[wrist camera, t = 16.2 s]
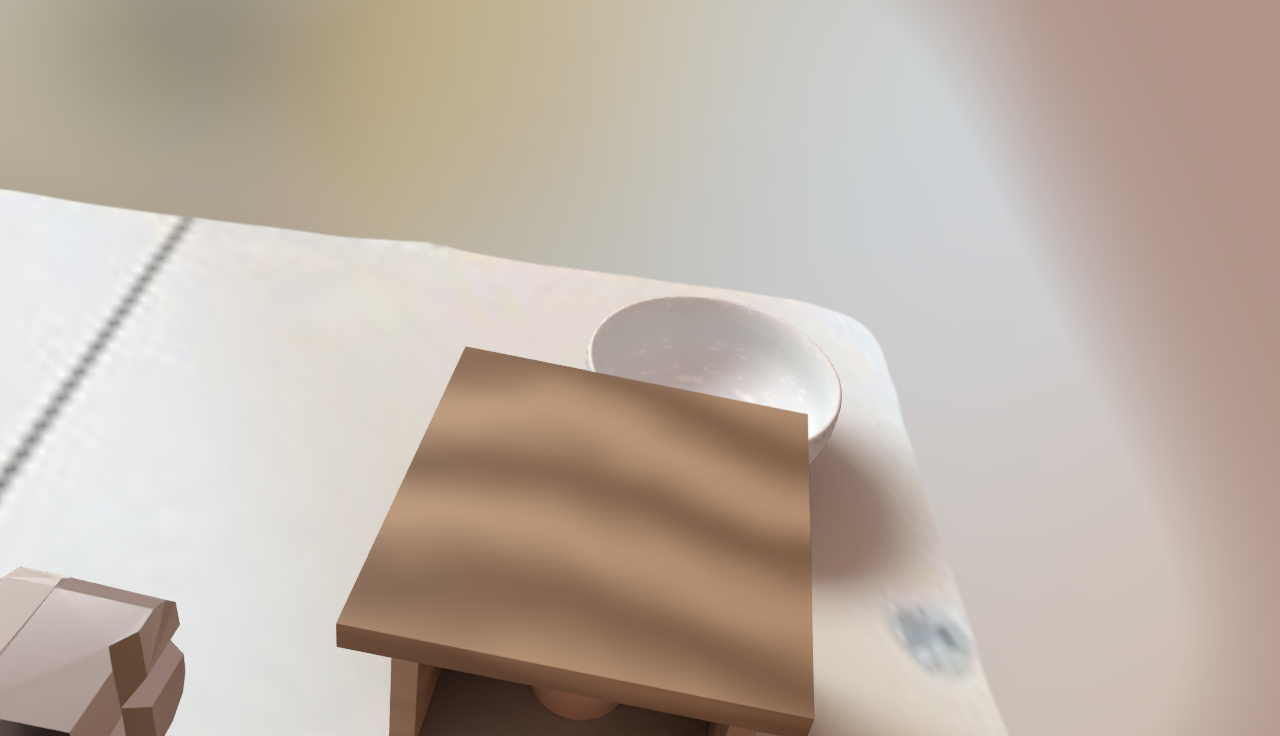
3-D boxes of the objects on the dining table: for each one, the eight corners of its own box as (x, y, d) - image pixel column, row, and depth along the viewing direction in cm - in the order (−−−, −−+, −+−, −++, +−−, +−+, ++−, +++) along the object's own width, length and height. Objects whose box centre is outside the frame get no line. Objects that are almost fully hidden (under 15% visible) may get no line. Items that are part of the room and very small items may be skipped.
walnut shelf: (719, 954, 45) (814, 719, 35) (340, 877, 45) (336, 623, 36) (736, 641, 59) (808, 414, 50) (448, 583, 59) (465, 346, 50)
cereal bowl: (532, 400, 74) (542, 315, 70) (724, 356, 82) (743, 278, 78) (658, 565, 63) (679, 476, 59) (866, 495, 71) (897, 413, 67)
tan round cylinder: (556, 733, 52) (573, 640, 48) (515, 658, 56) (528, 565, 52) (643, 701, 55) (666, 609, 51) (599, 630, 58) (617, 539, 54)
